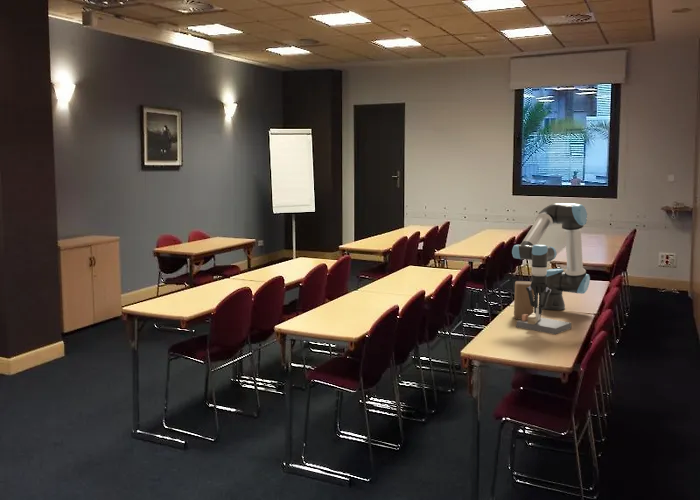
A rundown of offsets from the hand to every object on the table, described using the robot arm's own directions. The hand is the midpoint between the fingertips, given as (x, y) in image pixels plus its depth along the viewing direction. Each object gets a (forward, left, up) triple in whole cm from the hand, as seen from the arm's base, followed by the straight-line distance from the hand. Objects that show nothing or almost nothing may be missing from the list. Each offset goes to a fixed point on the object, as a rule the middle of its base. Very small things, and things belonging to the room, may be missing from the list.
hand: (537, 319), depth 341 cm
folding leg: (-4, -4, -2) cm, 5 cm away
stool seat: (-6, 0, -5) cm, 7 cm away
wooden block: (-18, -19, -5) cm, 26 cm away
